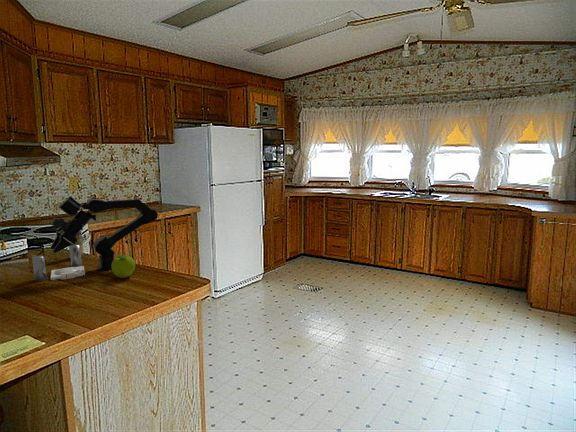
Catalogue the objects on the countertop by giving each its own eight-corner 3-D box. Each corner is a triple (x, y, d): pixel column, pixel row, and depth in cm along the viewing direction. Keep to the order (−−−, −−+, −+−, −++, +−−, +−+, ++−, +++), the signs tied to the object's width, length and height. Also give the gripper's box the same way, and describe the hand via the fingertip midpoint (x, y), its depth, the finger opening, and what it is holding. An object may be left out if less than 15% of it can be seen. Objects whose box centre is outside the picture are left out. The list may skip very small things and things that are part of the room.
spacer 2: (83, 265, 194) (81, 245, 193) (74, 267, 191) (72, 246, 189) (78, 264, 197) (76, 244, 195) (69, 266, 193) (67, 246, 191)
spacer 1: (48, 279, 173) (46, 256, 172) (38, 281, 170) (35, 258, 168) (43, 277, 175) (40, 255, 174) (32, 280, 172) (29, 257, 170)
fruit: (116, 281, 167) (114, 258, 166) (110, 276, 174) (108, 254, 173) (139, 277, 173) (137, 254, 172) (131, 272, 180) (129, 250, 179)
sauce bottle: (73, 259, 206) (69, 221, 203) (67, 257, 210) (63, 220, 207) (86, 256, 211) (82, 219, 208) (80, 255, 215) (76, 218, 212)
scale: (83, 268, 189) (83, 263, 188) (85, 276, 176) (84, 271, 175) (51, 272, 183) (51, 267, 182) (50, 281, 169) (50, 276, 169)
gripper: (59, 208, 182) (33, 235, 177) (65, 212, 167) (37, 242, 162) (80, 223, 188) (56, 250, 183) (88, 229, 173) (61, 258, 168)
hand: (52, 250), depth 174 cm, fingers open, 9 cm apart
